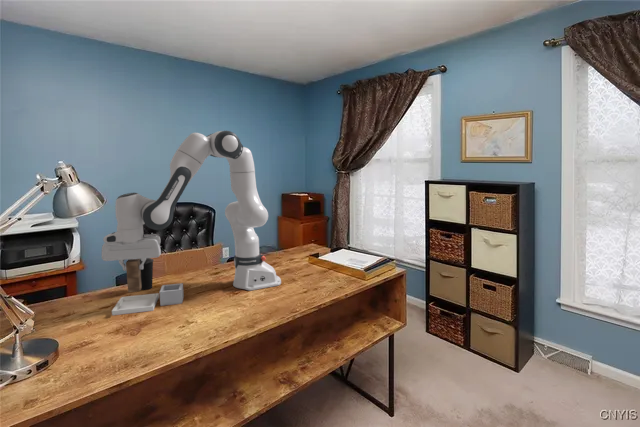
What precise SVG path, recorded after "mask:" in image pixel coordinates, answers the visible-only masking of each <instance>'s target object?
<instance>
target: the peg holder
mask: <svg viewBox="0 0 640 427" xmlns="http://www.w3.org/2000/svg"><path fill="white" fill-rule="evenodd" d="M183 301H184V283H173V284H162V285H161V288H160V290H159V302H160V303H159V304H160V307H163V306H171V305H181V304H183Z"/></svg>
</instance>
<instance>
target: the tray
mask: <svg viewBox="0 0 640 427" xmlns="http://www.w3.org/2000/svg"><path fill="white" fill-rule="evenodd" d="M159 299H160V293H158V292H157V293H156V292H155V293H148V294H138V295H137V294H136V295H128V296H121V297H120V298H119V300H118V301H117V302H116V304H115V306H114V307H113V308H112V310H111V315H112V316H117V315H118V316H119V315H128V314H129V315H130V314H136V313H137V314H138V313H144V312H153V311H154V310H155V308H156V305H157V303H158V300H159Z"/></svg>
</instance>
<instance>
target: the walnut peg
mask: <svg viewBox="0 0 640 427" xmlns="http://www.w3.org/2000/svg"><path fill="white" fill-rule="evenodd" d="M139 264H140V259H128V260H126V261H125V265H126V271H125V272H126V280H127V281H126V282H127V293H134V292H136V293H137V292H141V291H142V290H141V288H142V285H141V272H140V270H139V267H138V266H139Z"/></svg>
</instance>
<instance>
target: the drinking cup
mask: <svg viewBox="0 0 640 427" xmlns="http://www.w3.org/2000/svg"><path fill="white" fill-rule="evenodd" d="M142 262H143V261H141V259H140V264H142ZM143 266H144V269H142V270H140V272H141V285H142V288H141V290H140V291H149V290H152V289H153V276H154V274H153V273H154V271H153V270H154V269H153V268H154V258H146V261H145V263H144V264H143Z"/></svg>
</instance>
